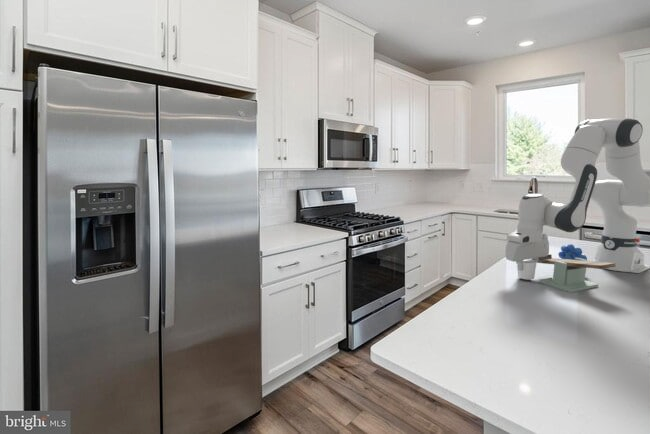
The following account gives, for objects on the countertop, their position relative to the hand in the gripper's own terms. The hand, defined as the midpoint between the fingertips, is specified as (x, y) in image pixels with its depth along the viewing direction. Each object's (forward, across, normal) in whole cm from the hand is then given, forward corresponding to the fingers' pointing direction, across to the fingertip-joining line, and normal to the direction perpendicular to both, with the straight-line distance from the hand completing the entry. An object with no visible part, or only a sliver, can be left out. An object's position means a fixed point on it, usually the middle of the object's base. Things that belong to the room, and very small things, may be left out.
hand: (526, 269), depth 142 cm
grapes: (+5, -26, 0) cm, 27 cm away
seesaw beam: (-4, -11, +10) cm, 15 cm away
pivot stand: (+4, -10, +10) cm, 15 cm away
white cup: (+4, 0, 0) cm, 4 cm away
